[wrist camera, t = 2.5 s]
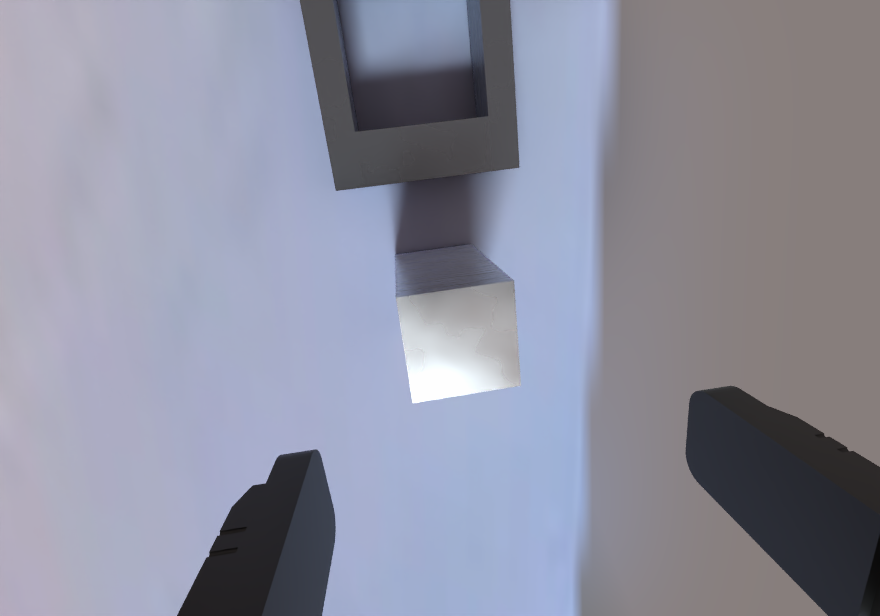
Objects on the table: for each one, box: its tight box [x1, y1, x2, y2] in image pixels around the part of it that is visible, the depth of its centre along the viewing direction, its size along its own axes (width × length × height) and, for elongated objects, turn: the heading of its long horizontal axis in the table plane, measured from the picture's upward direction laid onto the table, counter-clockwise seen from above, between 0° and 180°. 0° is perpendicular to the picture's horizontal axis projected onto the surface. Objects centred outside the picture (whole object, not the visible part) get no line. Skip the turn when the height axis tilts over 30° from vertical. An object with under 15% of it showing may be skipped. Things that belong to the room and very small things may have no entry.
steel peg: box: [395, 244, 521, 403], centre depth 18 cm, size 4×4×8 cm
